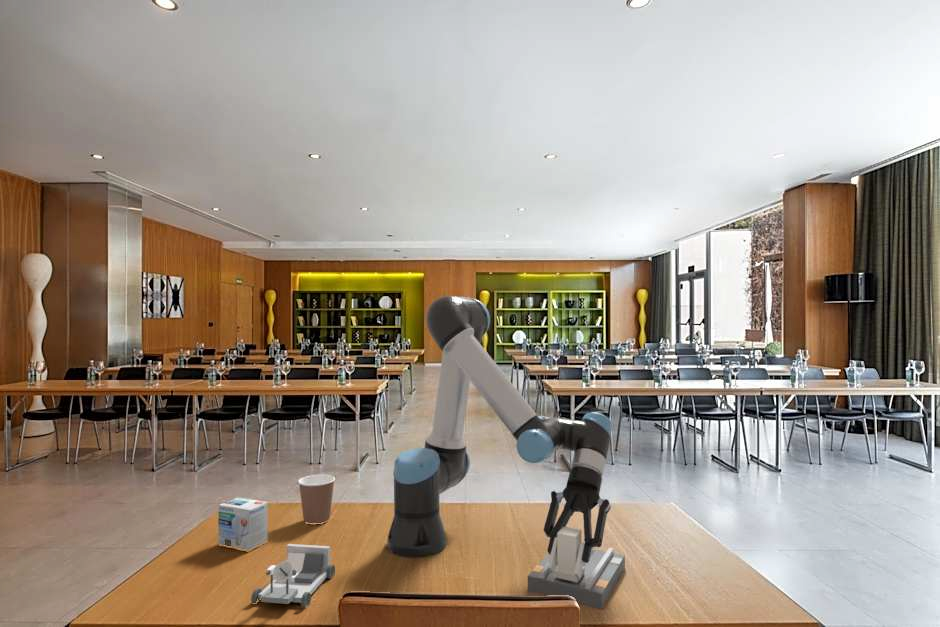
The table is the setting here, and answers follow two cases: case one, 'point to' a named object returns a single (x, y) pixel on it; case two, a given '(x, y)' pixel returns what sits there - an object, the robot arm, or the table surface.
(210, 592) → the table surface
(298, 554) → the toy car
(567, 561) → the switch slider
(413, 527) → the robot arm
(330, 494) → the coffee cup
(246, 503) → the light bulb box
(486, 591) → the table surface
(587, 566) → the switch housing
